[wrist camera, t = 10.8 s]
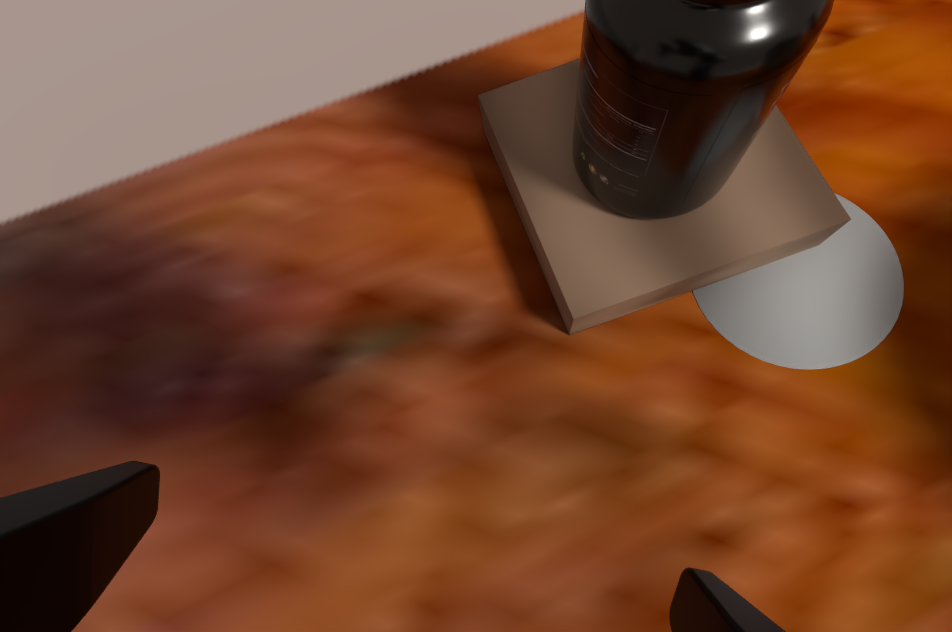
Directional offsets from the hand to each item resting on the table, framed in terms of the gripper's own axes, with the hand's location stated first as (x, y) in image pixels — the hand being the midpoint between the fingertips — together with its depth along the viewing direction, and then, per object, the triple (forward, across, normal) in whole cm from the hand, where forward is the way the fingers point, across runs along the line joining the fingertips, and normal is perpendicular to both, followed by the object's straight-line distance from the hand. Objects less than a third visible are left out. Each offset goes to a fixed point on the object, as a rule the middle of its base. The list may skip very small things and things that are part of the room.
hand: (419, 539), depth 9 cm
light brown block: (+18, -7, -8) cm, 21 cm away
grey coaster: (+16, -14, -5) cm, 22 cm away
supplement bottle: (+16, -6, -9) cm, 20 cm away
